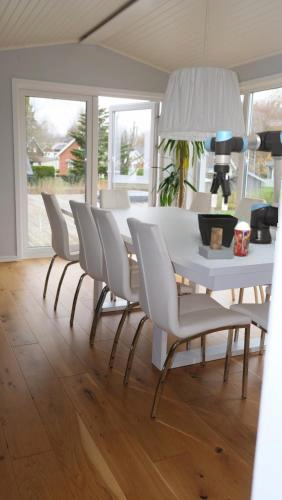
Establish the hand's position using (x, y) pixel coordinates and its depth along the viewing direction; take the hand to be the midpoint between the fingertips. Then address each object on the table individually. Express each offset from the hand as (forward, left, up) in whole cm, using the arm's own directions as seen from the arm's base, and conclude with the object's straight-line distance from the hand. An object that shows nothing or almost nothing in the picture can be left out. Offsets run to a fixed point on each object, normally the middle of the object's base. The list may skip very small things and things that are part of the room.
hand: (218, 208), depth 218 cm
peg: (0, 0, -24) cm, 24 cm away
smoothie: (-14, -1, -24) cm, 28 cm away
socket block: (0, 0, -24) cm, 24 cm away
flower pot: (-11, -27, -24) cm, 38 cm away
